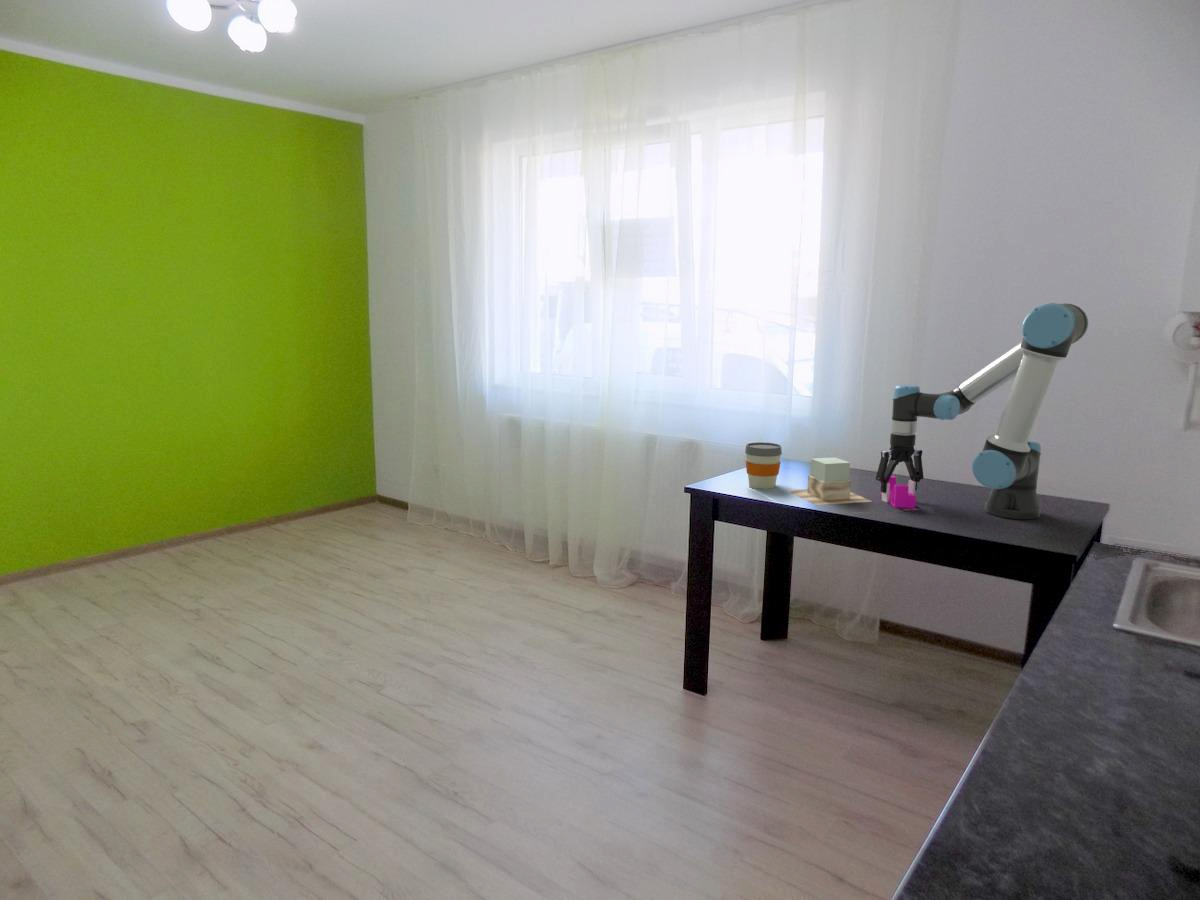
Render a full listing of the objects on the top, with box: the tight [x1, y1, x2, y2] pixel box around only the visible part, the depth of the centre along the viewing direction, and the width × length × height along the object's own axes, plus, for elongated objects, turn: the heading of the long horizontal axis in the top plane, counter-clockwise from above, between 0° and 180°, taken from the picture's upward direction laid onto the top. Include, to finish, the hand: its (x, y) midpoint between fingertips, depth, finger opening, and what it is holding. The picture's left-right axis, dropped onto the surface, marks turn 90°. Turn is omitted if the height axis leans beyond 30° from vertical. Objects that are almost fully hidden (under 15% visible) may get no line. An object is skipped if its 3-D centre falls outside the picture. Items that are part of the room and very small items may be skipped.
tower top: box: [809, 457, 851, 482], centre depth 250 cm, size 9×9×6 cm
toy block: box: [880, 475, 917, 510], centre depth 244 cm, size 15×6×8 cm, turn 175°
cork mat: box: [786, 488, 872, 506], centre depth 252 cm, size 20×20×1 cm
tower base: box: [807, 475, 852, 500], centre depth 251 cm, size 10×10×6 cm
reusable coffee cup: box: [744, 441, 783, 490], centre depth 265 cm, size 13×13×15 cm
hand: (897, 501), depth 246 cm, fingers open, 9 cm apart
